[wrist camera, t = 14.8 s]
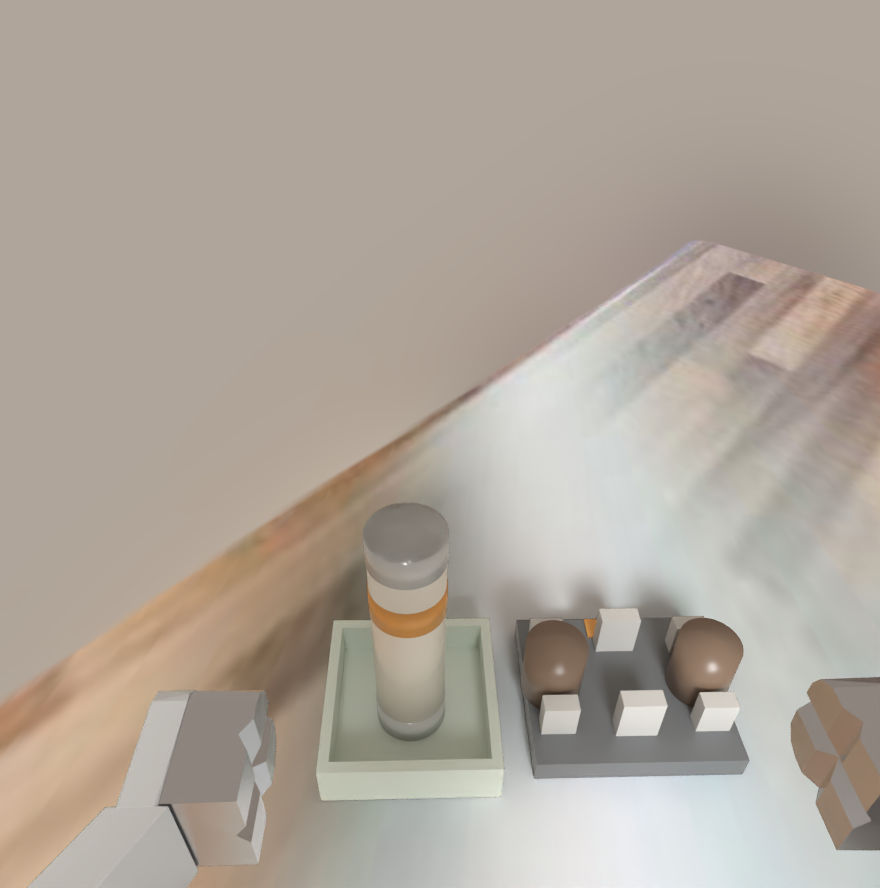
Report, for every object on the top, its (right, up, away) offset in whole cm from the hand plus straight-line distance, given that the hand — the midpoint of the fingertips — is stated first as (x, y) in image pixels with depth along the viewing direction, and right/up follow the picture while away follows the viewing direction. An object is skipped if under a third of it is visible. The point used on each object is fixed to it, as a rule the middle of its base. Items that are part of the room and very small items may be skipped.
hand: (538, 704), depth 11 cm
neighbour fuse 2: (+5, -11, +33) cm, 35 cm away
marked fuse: (-3, -12, +32) cm, 34 cm away
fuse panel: (+10, -12, +34) cm, 37 cm away
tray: (-3, -13, +32) cm, 35 cm away
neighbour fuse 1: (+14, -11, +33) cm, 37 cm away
